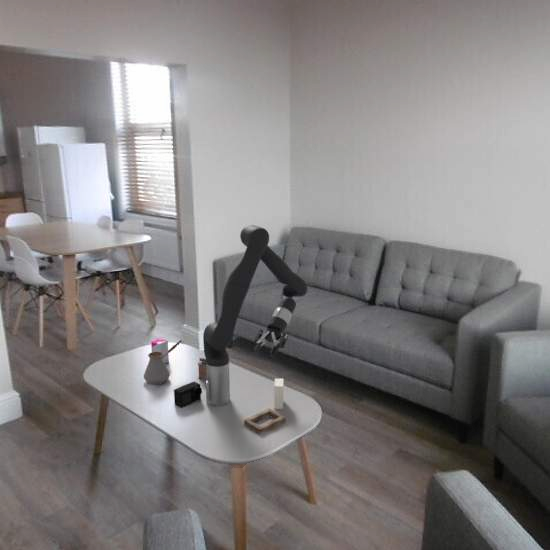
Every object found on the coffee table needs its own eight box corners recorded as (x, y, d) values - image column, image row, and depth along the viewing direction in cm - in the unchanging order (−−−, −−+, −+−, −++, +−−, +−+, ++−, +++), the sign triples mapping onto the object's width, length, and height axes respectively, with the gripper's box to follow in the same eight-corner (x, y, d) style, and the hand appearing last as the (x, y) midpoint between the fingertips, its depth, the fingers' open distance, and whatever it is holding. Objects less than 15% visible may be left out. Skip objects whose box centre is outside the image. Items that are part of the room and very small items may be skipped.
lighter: (216, 378, 237) (216, 357, 235) (213, 381, 234) (213, 360, 232) (200, 376, 239) (199, 355, 237) (197, 379, 236) (196, 358, 234)
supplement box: (169, 362, 254) (168, 340, 251) (160, 366, 249) (159, 344, 246) (160, 359, 257) (159, 337, 254) (151, 364, 252) (150, 341, 249)
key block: (274, 409, 211) (274, 386, 208) (274, 400, 217) (274, 378, 215) (283, 409, 211) (283, 386, 208) (283, 400, 217) (283, 378, 215)
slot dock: (260, 434, 193) (260, 429, 192) (244, 424, 199) (244, 420, 198) (285, 421, 201) (285, 416, 201) (269, 412, 208) (269, 408, 207)
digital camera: (182, 409, 210) (181, 393, 208) (174, 404, 214) (173, 389, 212) (202, 400, 217) (202, 385, 216) (194, 396, 221) (194, 381, 219)
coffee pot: (154, 389, 227) (152, 357, 223) (138, 381, 234) (136, 350, 230) (192, 372, 243) (190, 342, 239) (175, 366, 250) (174, 336, 246)
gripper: (262, 314, 219) (245, 347, 212) (289, 317, 210) (272, 351, 203) (271, 323, 224) (255, 356, 217) (297, 327, 215) (281, 361, 208)
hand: (263, 354), depth 210 cm, fingers open, 8 cm apart
